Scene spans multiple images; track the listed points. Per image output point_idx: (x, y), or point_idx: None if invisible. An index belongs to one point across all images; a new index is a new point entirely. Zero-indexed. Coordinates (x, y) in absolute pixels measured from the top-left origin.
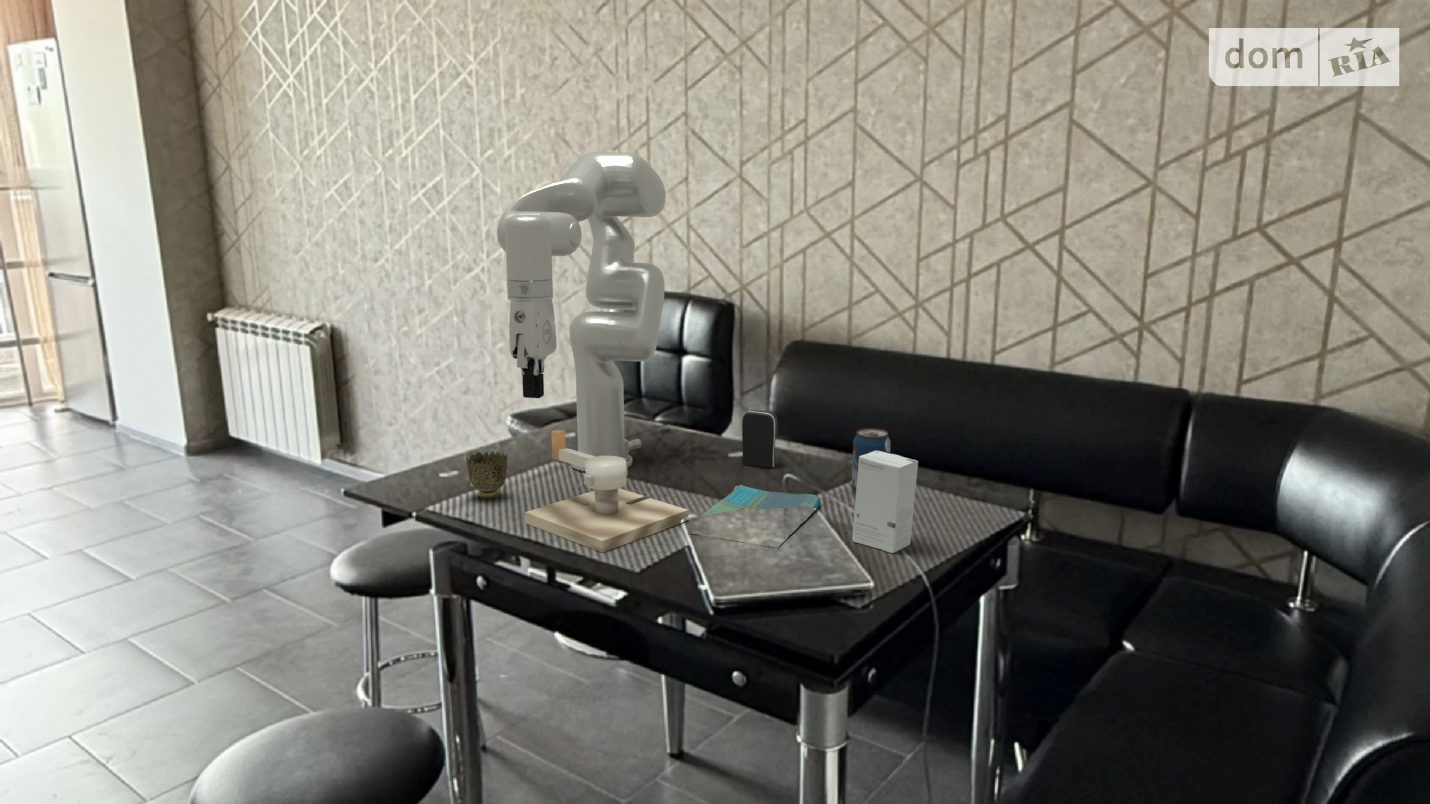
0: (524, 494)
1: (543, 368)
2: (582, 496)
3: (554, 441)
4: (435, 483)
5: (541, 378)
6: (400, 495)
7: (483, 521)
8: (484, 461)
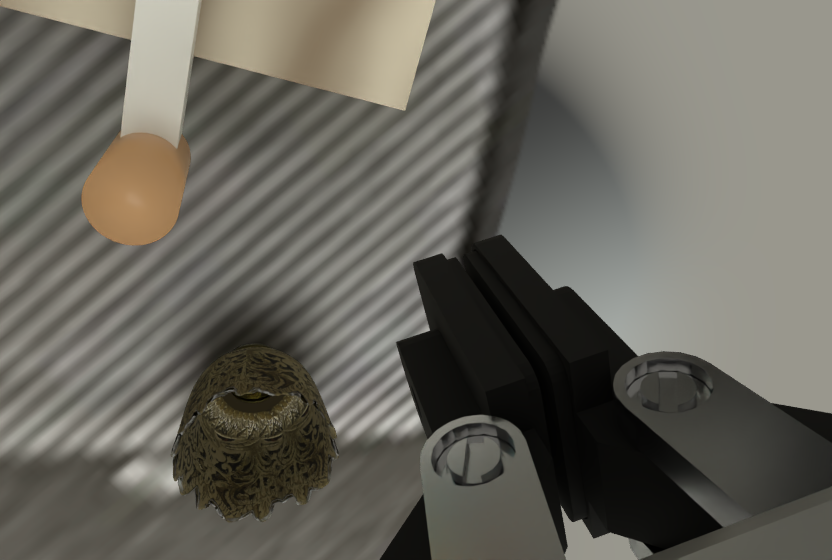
0: (156, 297)
1: (435, 479)
2: (122, 12)
3: (183, 184)
4: (243, 554)
5: (517, 349)
6: (371, 541)
7: (439, 231)
8: (213, 481)
